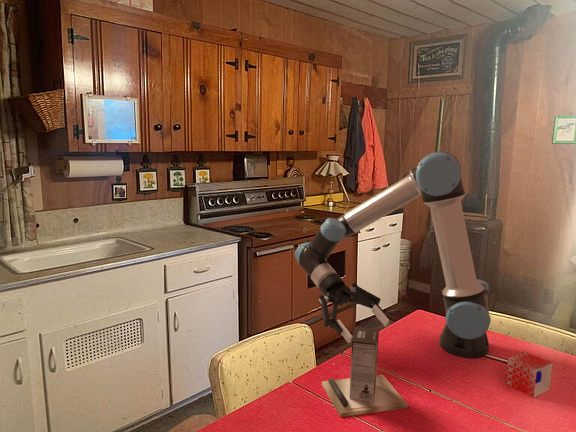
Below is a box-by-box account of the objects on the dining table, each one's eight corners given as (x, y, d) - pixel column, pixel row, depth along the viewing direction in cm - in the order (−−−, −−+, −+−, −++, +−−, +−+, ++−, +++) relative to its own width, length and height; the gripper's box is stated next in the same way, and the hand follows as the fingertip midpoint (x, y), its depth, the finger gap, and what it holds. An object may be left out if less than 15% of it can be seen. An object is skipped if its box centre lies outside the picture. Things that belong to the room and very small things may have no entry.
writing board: (382, 377, 129) (382, 368, 129) (407, 408, 115) (408, 397, 115) (321, 384, 125) (322, 375, 125) (340, 417, 111) (340, 406, 110)
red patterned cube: (521, 376, 131) (524, 351, 130) (549, 389, 125) (552, 362, 124) (505, 384, 127) (508, 358, 126) (533, 398, 121) (536, 370, 119)
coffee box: (352, 381, 125) (354, 325, 122) (376, 384, 124) (379, 328, 121) (348, 399, 116) (351, 340, 114) (374, 403, 115) (377, 343, 112)
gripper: (356, 277, 152) (398, 325, 138) (292, 301, 140) (331, 355, 127) (361, 261, 147) (405, 309, 134) (296, 284, 135) (336, 339, 122)
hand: (369, 331), depth 130 cm, fingers open, 13 cm apart
